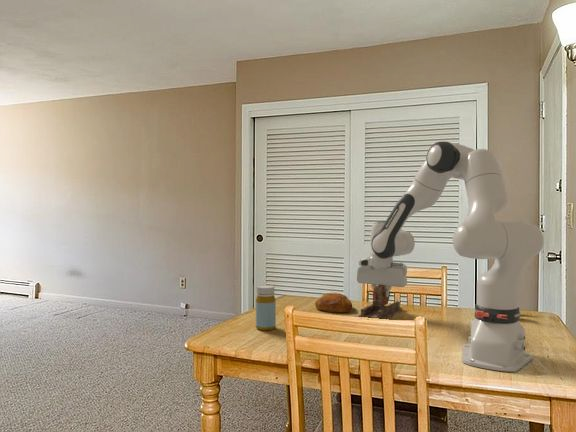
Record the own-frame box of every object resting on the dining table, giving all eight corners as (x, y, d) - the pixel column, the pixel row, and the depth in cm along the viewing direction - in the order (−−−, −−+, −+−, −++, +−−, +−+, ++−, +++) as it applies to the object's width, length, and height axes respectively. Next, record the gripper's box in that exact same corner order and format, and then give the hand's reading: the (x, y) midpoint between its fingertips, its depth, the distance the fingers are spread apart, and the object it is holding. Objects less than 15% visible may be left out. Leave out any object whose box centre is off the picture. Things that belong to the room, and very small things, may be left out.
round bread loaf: (343, 320, 186) (345, 301, 185) (309, 310, 194) (311, 291, 193) (358, 312, 198) (360, 294, 197) (326, 303, 206) (328, 285, 205)
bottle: (273, 331, 162) (272, 288, 161) (253, 330, 163) (253, 287, 163) (277, 326, 169) (277, 285, 168) (258, 325, 170) (258, 284, 170)
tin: (378, 309, 180) (379, 288, 179) (370, 308, 181) (372, 286, 181) (389, 302, 193) (391, 282, 192) (382, 301, 194) (384, 281, 194)
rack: (382, 321, 175) (382, 312, 175) (358, 318, 180) (358, 309, 180) (402, 310, 194) (402, 301, 193) (379, 307, 199) (379, 299, 199)
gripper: (409, 262, 184) (409, 297, 184) (361, 259, 195) (361, 292, 195) (404, 264, 178) (404, 300, 179) (355, 261, 189) (355, 294, 190)
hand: (381, 296), depth 187 cm, fingers closed on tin, 3 cm apart
